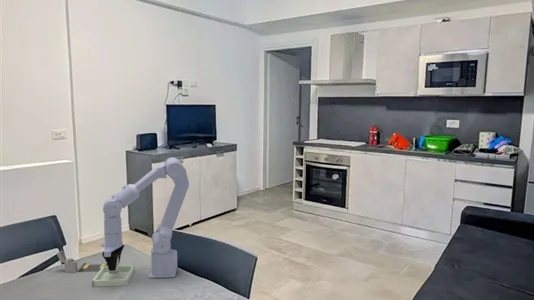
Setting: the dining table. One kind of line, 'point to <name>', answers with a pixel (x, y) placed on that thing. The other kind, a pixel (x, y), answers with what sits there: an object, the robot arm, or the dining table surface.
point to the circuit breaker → (68, 263)
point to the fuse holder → (91, 267)
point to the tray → (113, 277)
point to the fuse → (116, 268)
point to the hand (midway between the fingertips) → (114, 267)
